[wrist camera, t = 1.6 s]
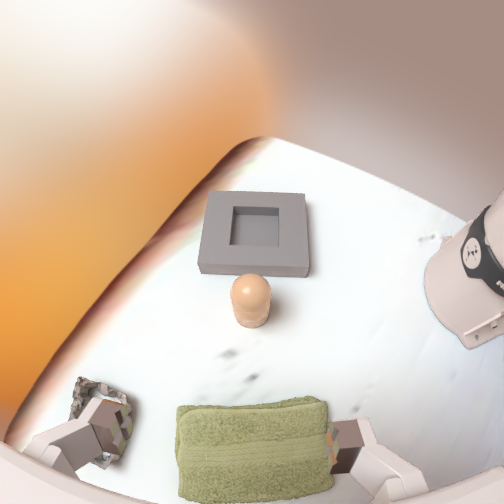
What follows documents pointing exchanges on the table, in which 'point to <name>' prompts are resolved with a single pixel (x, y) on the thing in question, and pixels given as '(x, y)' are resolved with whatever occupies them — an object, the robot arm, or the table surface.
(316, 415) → the washcloth
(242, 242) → the grey square peg hole
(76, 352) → the table surface
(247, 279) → the peach dome-topped peg
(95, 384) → the egg carton
